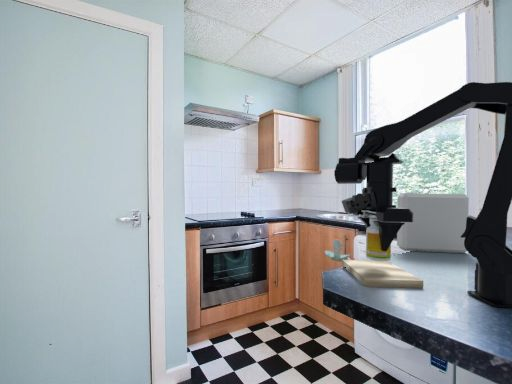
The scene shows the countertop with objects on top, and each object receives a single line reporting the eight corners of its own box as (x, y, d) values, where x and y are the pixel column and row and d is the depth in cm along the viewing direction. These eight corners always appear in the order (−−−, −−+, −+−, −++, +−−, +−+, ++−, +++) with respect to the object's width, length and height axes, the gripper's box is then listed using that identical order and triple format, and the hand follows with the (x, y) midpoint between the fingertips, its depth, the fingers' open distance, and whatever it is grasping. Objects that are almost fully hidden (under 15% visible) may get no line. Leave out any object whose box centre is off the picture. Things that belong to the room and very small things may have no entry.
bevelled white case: (455, 249, 95) (456, 194, 95) (470, 254, 87) (471, 194, 87) (394, 246, 98) (395, 193, 98) (403, 251, 90) (404, 193, 90)
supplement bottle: (393, 262, 60) (394, 220, 60) (368, 261, 61) (369, 219, 61) (386, 256, 65) (387, 217, 65) (363, 255, 66) (364, 217, 66)
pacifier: (330, 256, 82) (322, 259, 77) (331, 236, 82) (323, 238, 77) (354, 260, 77) (347, 264, 73) (355, 239, 77) (347, 241, 73)
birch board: (423, 287, 55) (423, 280, 55) (365, 286, 55) (365, 279, 55) (386, 266, 71) (386, 260, 71) (341, 265, 71) (342, 259, 71)
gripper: (334, 184, 72) (333, 240, 72) (360, 181, 54) (359, 257, 54) (375, 184, 72) (374, 241, 72) (415, 182, 54) (414, 258, 54)
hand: (378, 248), depth 63 cm, fingers closed on supplement bottle, 5 cm apart
